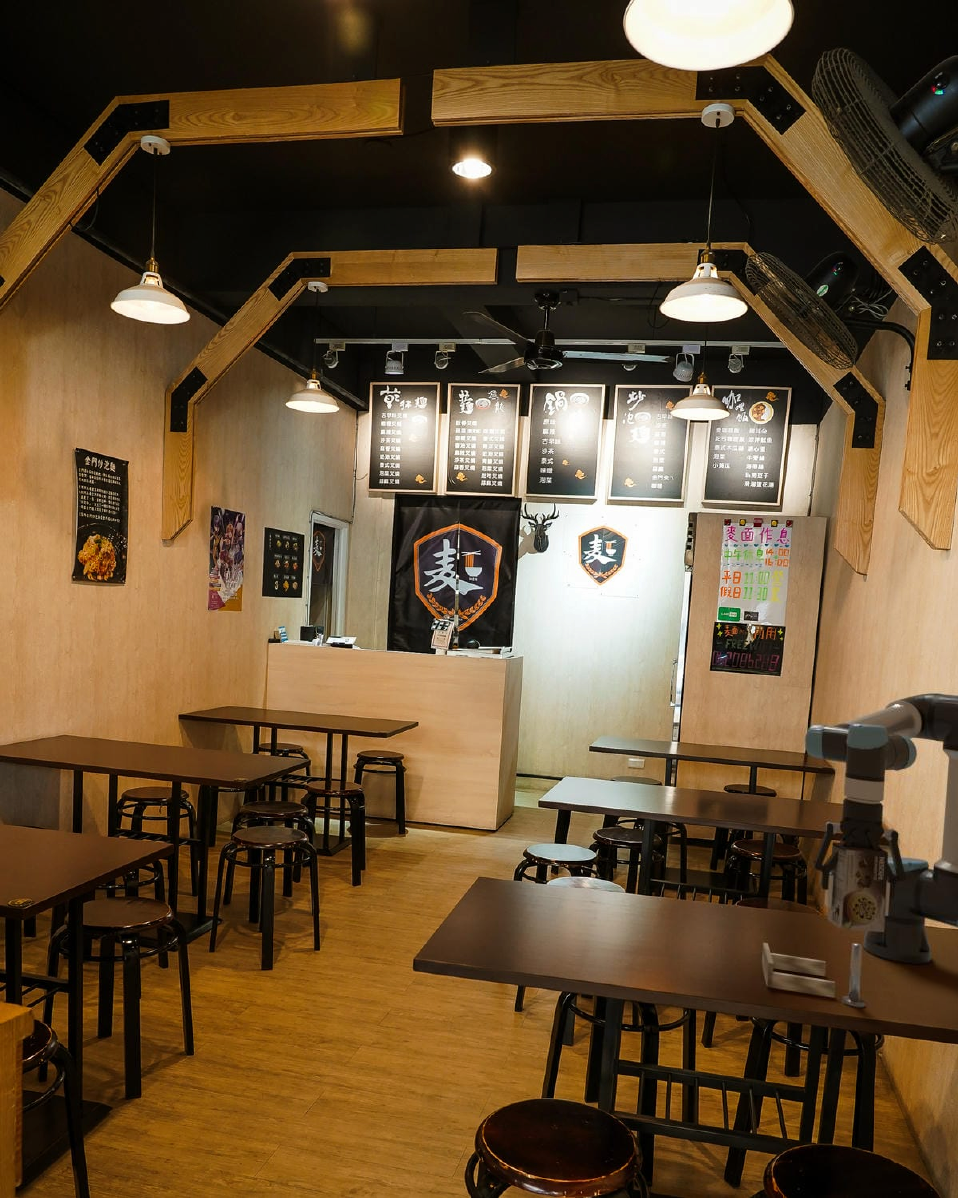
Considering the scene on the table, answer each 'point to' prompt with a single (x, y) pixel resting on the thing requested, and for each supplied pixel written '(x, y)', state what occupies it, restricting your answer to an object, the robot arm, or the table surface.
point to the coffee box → (859, 888)
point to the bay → (795, 981)
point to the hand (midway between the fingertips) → (856, 910)
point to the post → (855, 978)
